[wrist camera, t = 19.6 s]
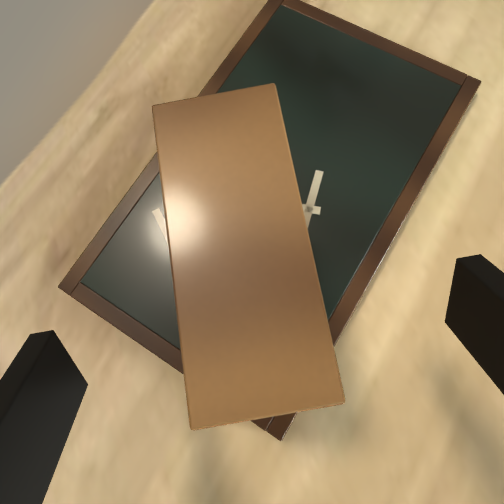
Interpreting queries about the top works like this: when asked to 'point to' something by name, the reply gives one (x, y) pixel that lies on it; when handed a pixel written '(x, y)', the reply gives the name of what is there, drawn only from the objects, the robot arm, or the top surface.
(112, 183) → the top surface
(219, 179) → the eraser
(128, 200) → the chalkboard
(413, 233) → the top surface
